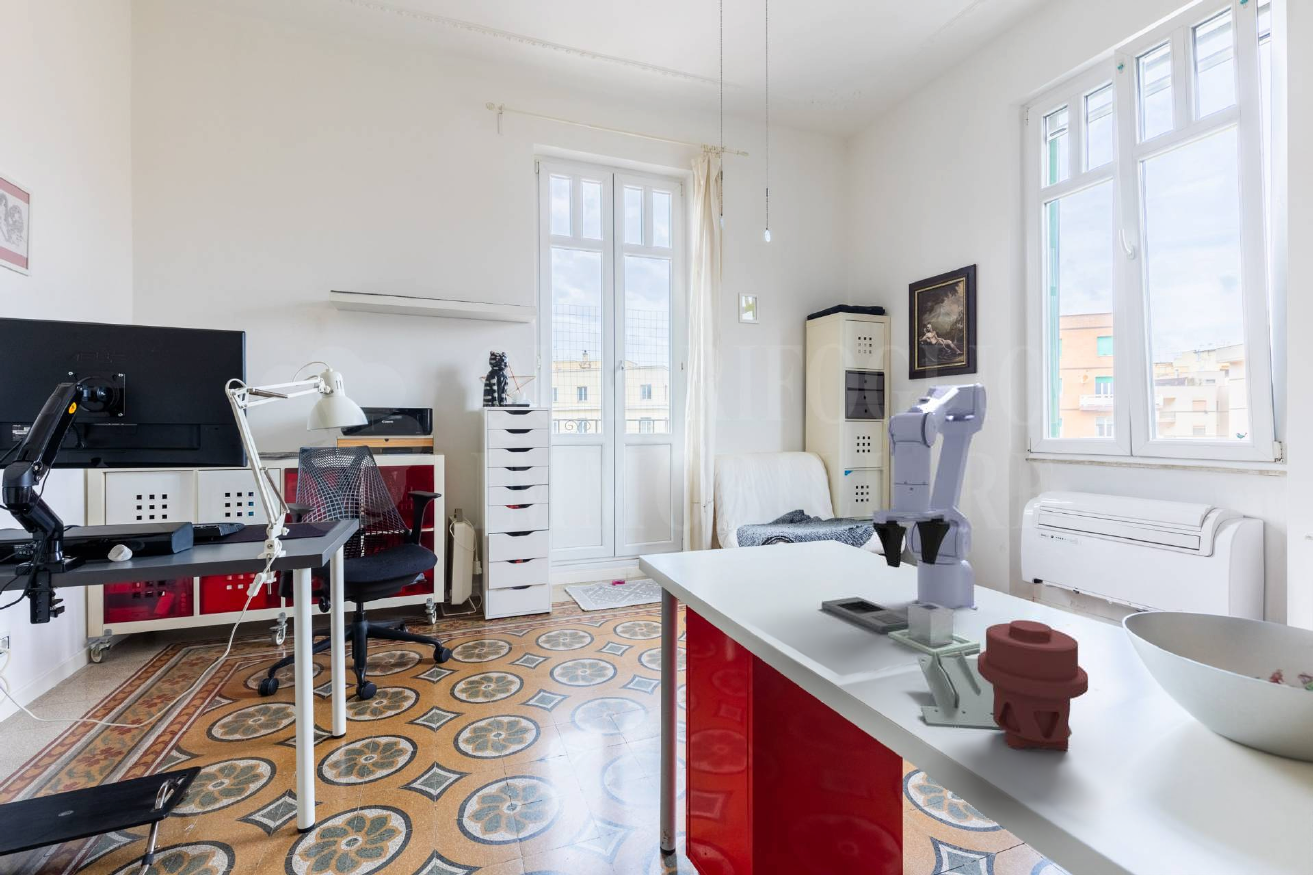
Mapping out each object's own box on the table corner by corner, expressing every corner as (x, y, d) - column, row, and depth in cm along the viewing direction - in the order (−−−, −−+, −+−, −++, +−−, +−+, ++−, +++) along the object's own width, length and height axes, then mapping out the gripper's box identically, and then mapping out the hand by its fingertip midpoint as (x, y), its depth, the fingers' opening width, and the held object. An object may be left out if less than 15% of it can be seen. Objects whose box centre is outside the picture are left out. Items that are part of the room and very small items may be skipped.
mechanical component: (1110, 752, 62) (1045, 775, 58) (1018, 711, 71) (957, 728, 68) (1110, 633, 62) (1045, 648, 58) (1018, 607, 71) (956, 618, 67)
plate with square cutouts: (857, 608, 113) (857, 596, 113) (920, 633, 99) (920, 619, 99) (821, 613, 110) (821, 601, 110) (881, 640, 96) (880, 626, 96)
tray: (932, 634, 98) (931, 625, 98) (980, 653, 90) (980, 642, 90) (888, 641, 95) (888, 632, 95) (933, 662, 87) (933, 651, 87)
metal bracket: (900, 639, 80) (1022, 644, 78) (897, 676, 82) (1017, 682, 80) (931, 719, 67) (1081, 727, 65) (928, 761, 68) (1073, 771, 66)
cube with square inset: (929, 636, 96) (929, 601, 96) (952, 645, 92) (952, 608, 92) (908, 640, 94) (908, 604, 94) (930, 649, 90) (930, 612, 90)
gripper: (895, 485, 96) (894, 572, 96) (963, 484, 101) (963, 566, 101) (864, 483, 102) (863, 564, 102) (930, 482, 108) (929, 559, 107)
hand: (911, 565), depth 102 cm, fingers open, 7 cm apart
